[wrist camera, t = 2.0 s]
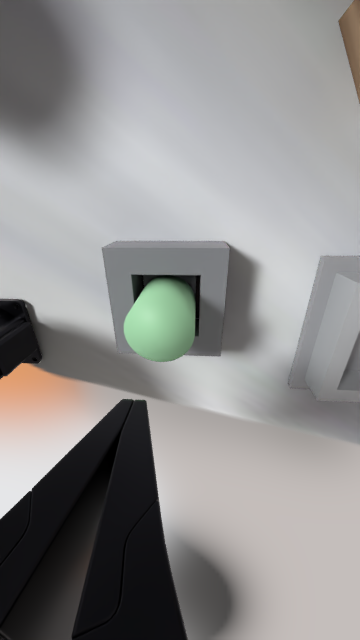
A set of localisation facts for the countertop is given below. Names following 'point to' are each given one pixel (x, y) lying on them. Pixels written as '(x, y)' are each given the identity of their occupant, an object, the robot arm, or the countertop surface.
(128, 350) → the switch box
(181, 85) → the countertop surface
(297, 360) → the grey square socket
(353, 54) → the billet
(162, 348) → the button
